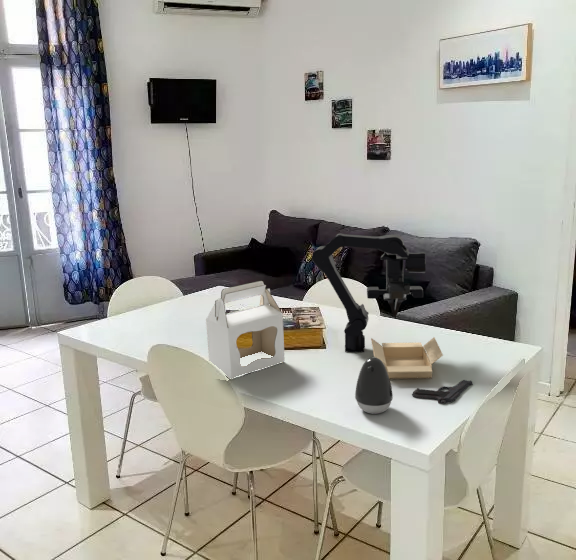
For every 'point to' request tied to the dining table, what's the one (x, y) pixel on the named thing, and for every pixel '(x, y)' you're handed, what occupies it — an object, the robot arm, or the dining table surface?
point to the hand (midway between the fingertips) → (394, 316)
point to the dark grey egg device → (373, 387)
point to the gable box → (245, 330)
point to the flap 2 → (433, 350)
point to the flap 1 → (378, 351)
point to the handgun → (443, 392)
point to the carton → (407, 361)
